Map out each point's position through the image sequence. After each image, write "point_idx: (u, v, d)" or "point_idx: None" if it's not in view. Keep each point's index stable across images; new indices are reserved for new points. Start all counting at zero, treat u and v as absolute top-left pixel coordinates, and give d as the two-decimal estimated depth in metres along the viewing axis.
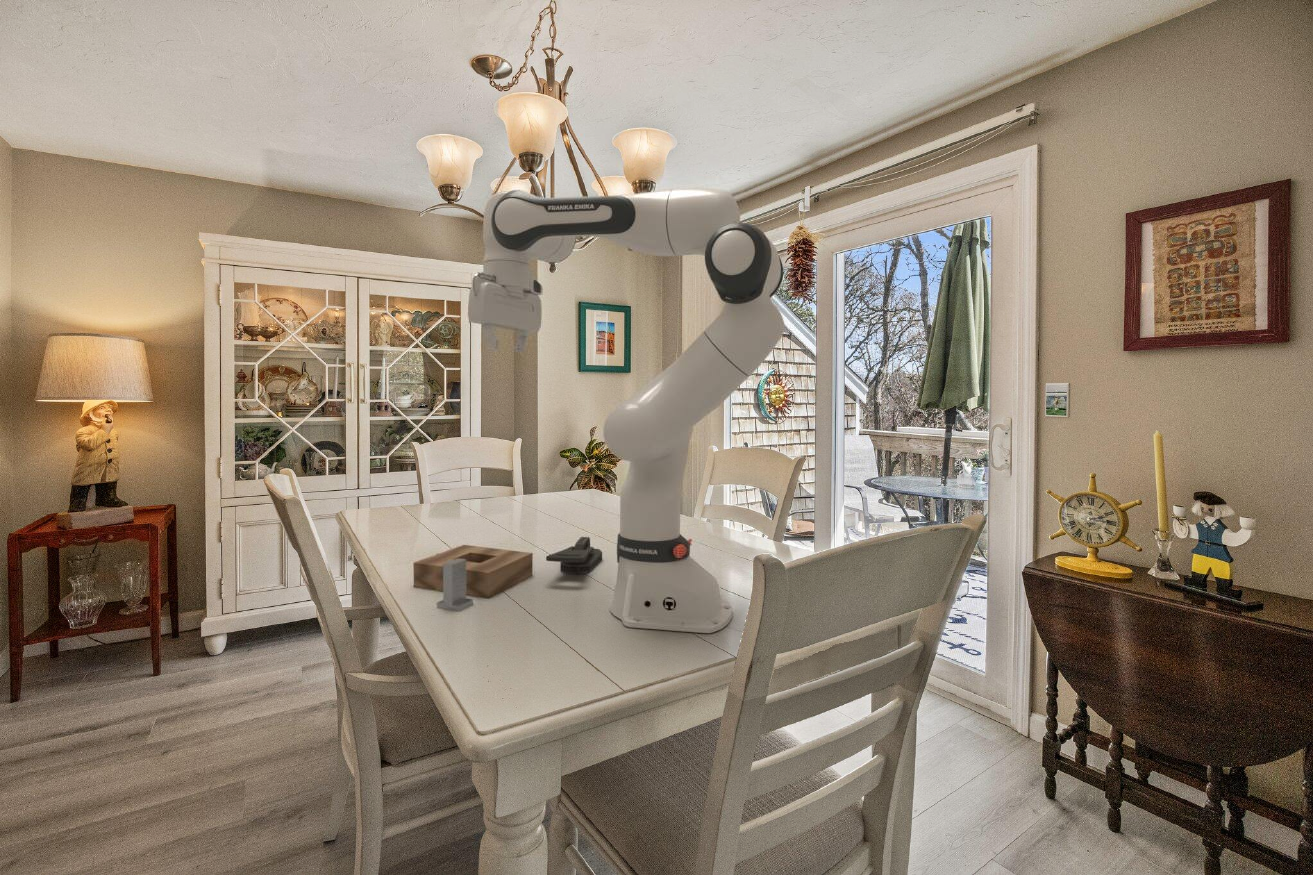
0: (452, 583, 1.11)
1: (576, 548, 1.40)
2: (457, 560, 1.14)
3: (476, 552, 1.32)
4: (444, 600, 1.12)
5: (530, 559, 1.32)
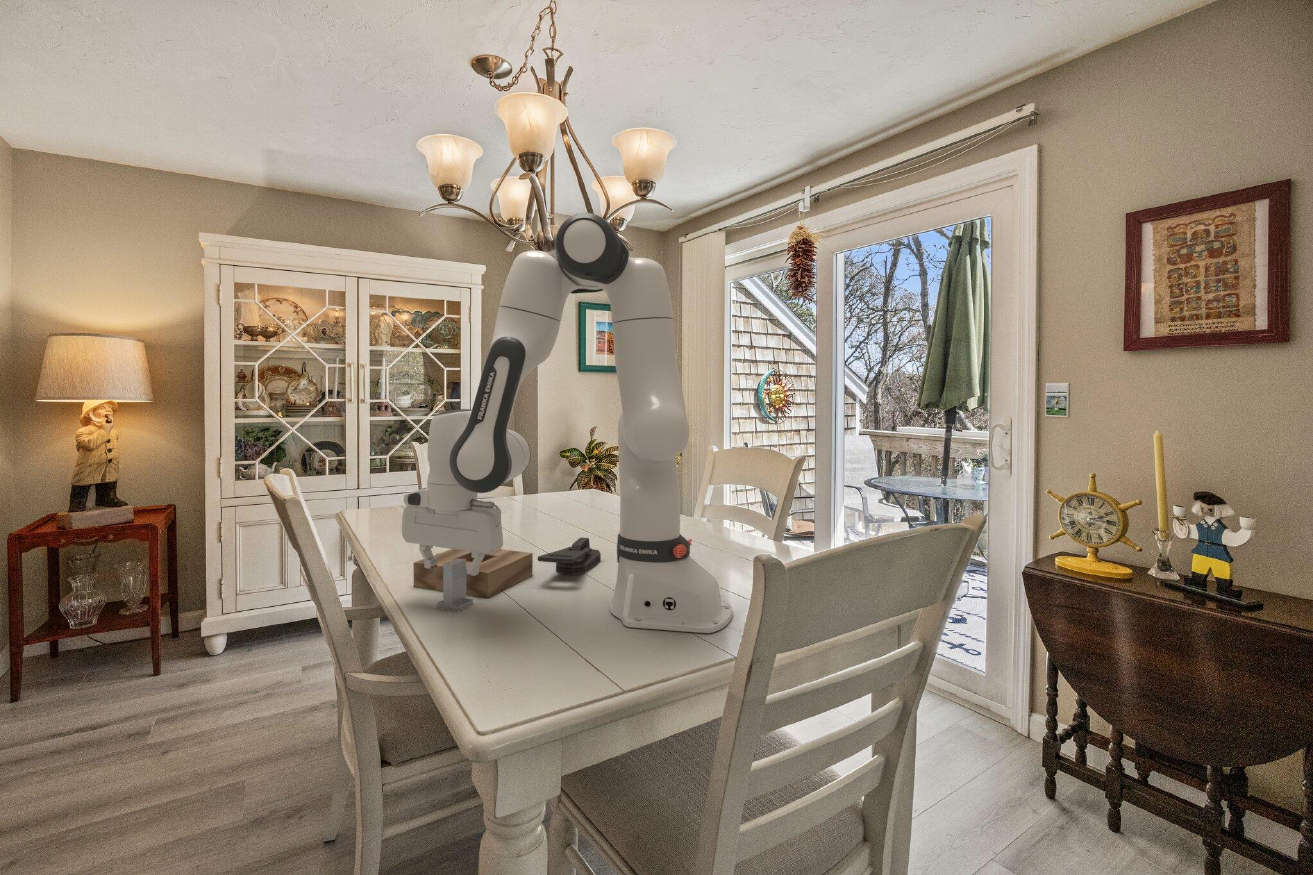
0: (451, 583, 1.11)
1: (573, 549, 1.39)
2: (457, 560, 1.14)
3: None
4: (444, 600, 1.12)
5: (530, 559, 1.32)
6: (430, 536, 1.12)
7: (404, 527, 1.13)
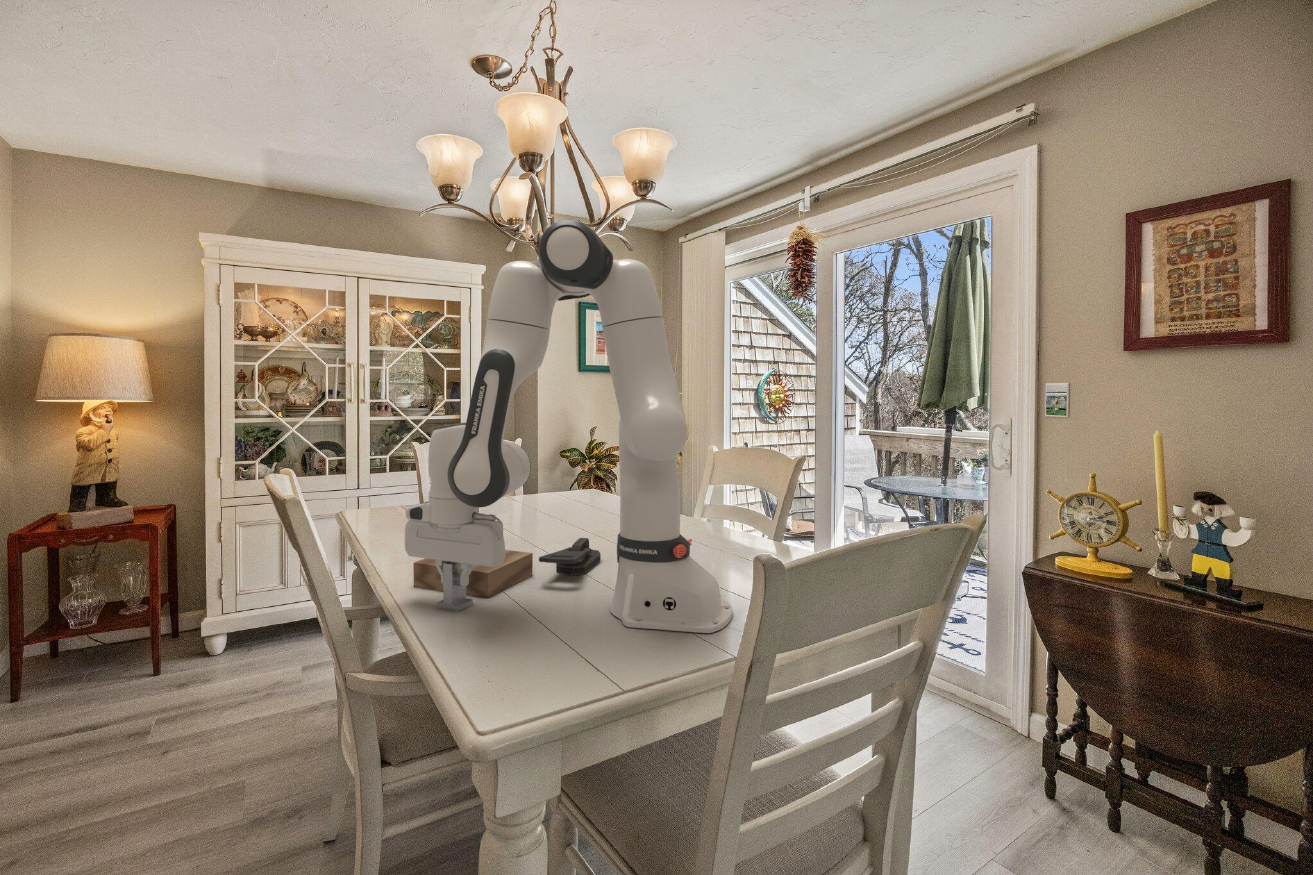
0: (452, 583, 1.11)
1: (573, 549, 1.39)
2: None
3: None
4: (444, 600, 1.12)
5: (530, 559, 1.32)
6: (432, 550, 1.12)
7: (407, 541, 1.14)
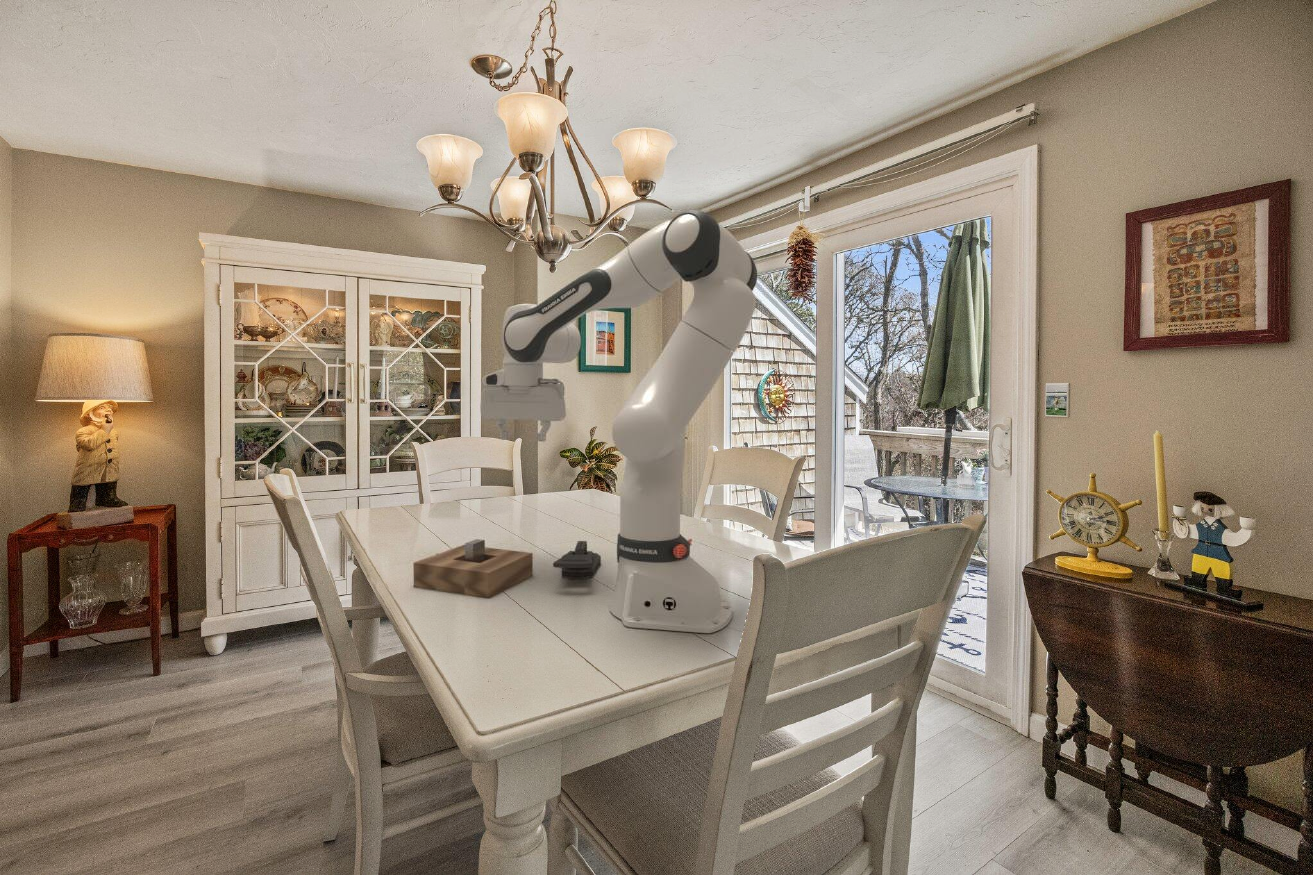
0: (472, 560, 1.26)
1: (576, 553, 1.36)
2: (477, 540, 1.29)
3: None
4: None
5: (530, 559, 1.32)
6: (504, 411, 1.35)
7: (482, 405, 1.37)
